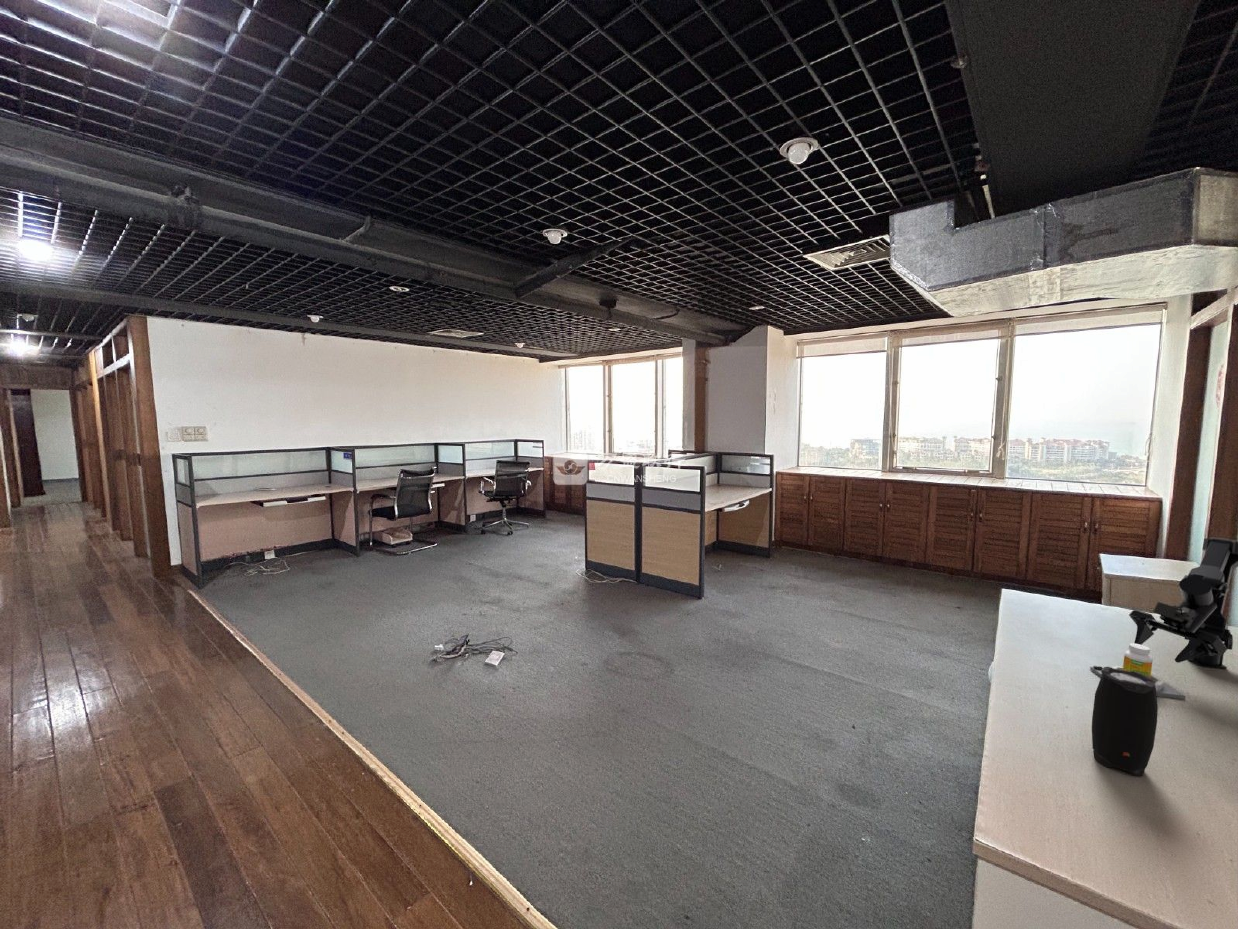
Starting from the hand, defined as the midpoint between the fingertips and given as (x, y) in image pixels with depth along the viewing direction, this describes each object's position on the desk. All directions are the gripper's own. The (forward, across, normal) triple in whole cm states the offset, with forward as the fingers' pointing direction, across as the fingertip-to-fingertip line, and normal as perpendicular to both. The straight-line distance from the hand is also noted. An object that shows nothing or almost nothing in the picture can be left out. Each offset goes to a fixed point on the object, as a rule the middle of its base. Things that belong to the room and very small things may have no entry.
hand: (1155, 653), depth 138 cm
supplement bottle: (+9, 0, +1) cm, 9 cm away
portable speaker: (+40, +26, -28) cm, 56 cm away
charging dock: (+10, 0, +2) cm, 10 cm away
